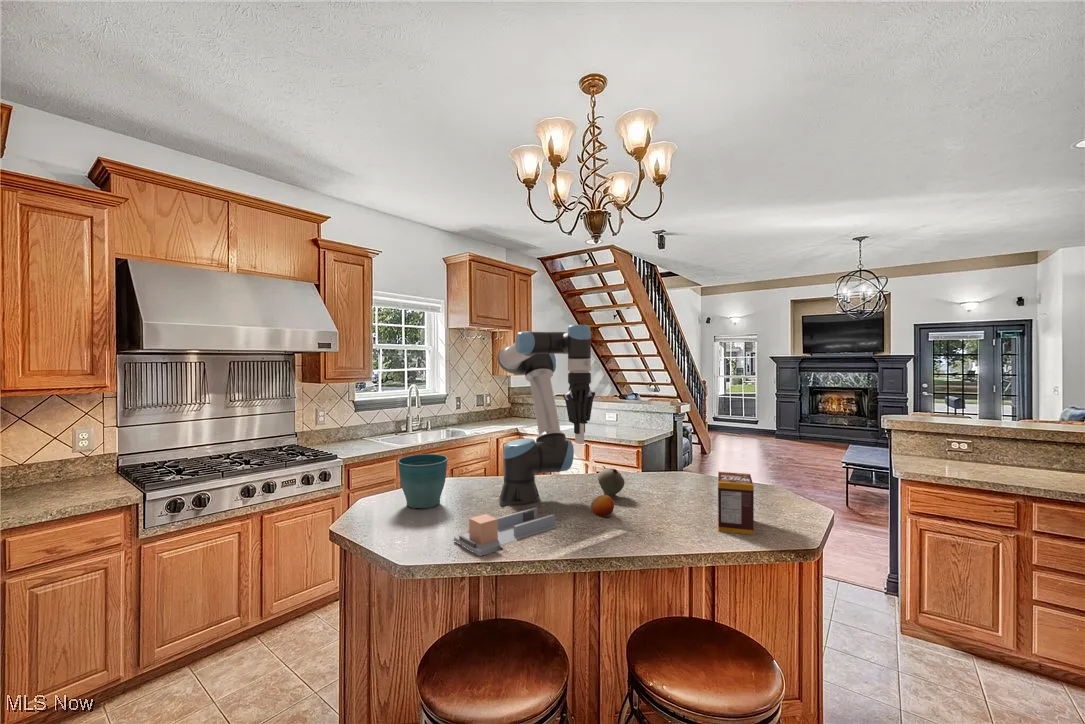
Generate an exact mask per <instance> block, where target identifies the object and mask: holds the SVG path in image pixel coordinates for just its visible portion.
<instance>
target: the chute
mask: <svg viewBox="0 0 1085 724" xmlns="http://www.w3.org/2000/svg"><path fill="white" fill-rule="evenodd" d="M495 518H496V519H498V539H497V540H493V541H490V542H487V543H484V544H479V543H477V542H475V541H473V540H471V539H469V532H467V533H464V534H460V535H457V536H453V542H454V541H456V542H458V543H460V544H461V545H463V546H465V547H466V548H468V549H469V550H471V551H473V552H474V553H476V554H478V555H479V556H478V555H477V556H478V557H480V556H481V557H483V556H482V555H484V556H486V555H485V554H487V555H490V554H493V553H496V552H499V551H502V550H504V548H503V547H501V546H502V545H505V544H507V543H511V542H514V541H517V540H521V539H524V538H527V537H531V536H533V535H536V534H539V533H542V532H546V531H549V530H552V529H554V528H558V527H560V525H559V524H556V514H550V515H544V516H541V517H538V507H531V508H528V509H526V510H525V509H524V510H522V511H521V510H520V511H518V512H514V513H511V514H507V515H503V516H499V517H495ZM466 548H465V549H466ZM469 550H468V551H469ZM471 551H470V552H471ZM473 552H472V553H473ZM492 552H493V553H492ZM474 553H473V554H474ZM489 553H490V554H489ZM476 554H475V555H476Z"/></svg>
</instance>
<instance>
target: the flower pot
mask: <svg viewBox="0 0 1085 724" xmlns="http://www.w3.org/2000/svg"><path fill="white" fill-rule="evenodd" d="M448 460H449V458H448V457H447V456H446V455H443V454H438V453H423V454H421V453H420V454H413V455H411V454H410V455H408V456H403V457H401V458H399V459H397V464H398V471H399V480H400V486H401V488H402V489H401V490H402V491H403V494H404V497H405V500H406V506H407V507H408V506H409V507H408V508H410V507H411V509H415V508H421V509H422V508H425V509H431V508H434V507H436V506H438V505H439V504H440V503H441V496H442V492H443V490H444V487H445V483H446V478H447V469H448V468H447V467H448ZM421 509H420V510H421ZM422 510H423V509H422Z"/></svg>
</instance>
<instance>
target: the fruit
mask: <svg viewBox="0 0 1085 724" xmlns="http://www.w3.org/2000/svg"><path fill="white" fill-rule="evenodd" d="M590 507H591V512H592V513H593V514H594V515H595V516H597V517H600V518H611V516H612V515H614V514H613V511H614V509H615V501H614V500H612V498H611V497H610V496H608V495H604V494H601V495H599V496H597V497H595V498H594V499H592V502H591V503H590Z"/></svg>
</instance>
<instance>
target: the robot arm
mask: <svg viewBox="0 0 1085 724" xmlns="http://www.w3.org/2000/svg"><path fill="white" fill-rule="evenodd" d="M591 334H592V333H591V327H590V325H588V324H570V325H569V326H568V328H567V331H528V330H527V331H519V332H518V333H517V334H516V336H515V341H514V342H513V344H511V345H506V346H504V347H502V349H500V350H499V352H498V355H497V362H498V363H497V364H498V365H499V367H500V368H501V369H502V370H504V371H505V372H507V373H509V374H514V375H525V380H526V381H527V382H529V384H530V389H531V390H530V391H531V395H532V402H533V408H534V412H535V413H534V414H535V420H536V424H537V425H536V426H537V431H538V436H537V437H536V439H534V438H519V439H518V438H517V439H513V440H511V441H508V442H507V443H505V444H504V447H503V455H502V458H503V485H502V487H501V491H500V494H499V496H498V500H499V501H498V503H499V505H500V506H501V507H503V508H506V507H509V506H528V505H532V504H536V503H538V502H539V501H540V500H541V499H540V497H541V496H540V494H539V491H538V488H537V484H536V475H537V474H546V473H547V474H548V473H550V474H551V473H560V472H567V471H569V470H570V469H571V468H572V465H573V461H574V458H575V457H574V454H575V449H574V444H573V442H572V440H569V439H567V438H566V434H565V433H564V432H562V431H561V427H560V421H559V416H558V411H557V406H556V405H557V404H556V400H555V396H554V391H553V385H552V380H551V379H552V378H553V376H554V373H555V371H556V368H557V363H556V362H557V359H556V355H557V354H558V355H559V354H561V355H562V354H563V355H567V371H568V373H567V383H568V384H569V387H568V391H567V393H563V395H562V398H563V399H564V401H565V407H566V412H567V416H568V422H569V423H572V424H573V433H574V440H575V441H574V443H575V444H577V445H579V444H580V445H584V444H585V433H586V425H587V424H588V423H589V422H590V420H591V416H592V409H593V402H594V398H595V396H596V392H595V391H592V390H591V387H590V385H591V383H592V374H591V372H590V371H591V370H592V369H591V368H592V367H591V366H592V362H591V361H592V360H591V359H592V357H591V355H592V353H591V352H592V348H591V347H592V344H591V343H592V335H591Z"/></svg>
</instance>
